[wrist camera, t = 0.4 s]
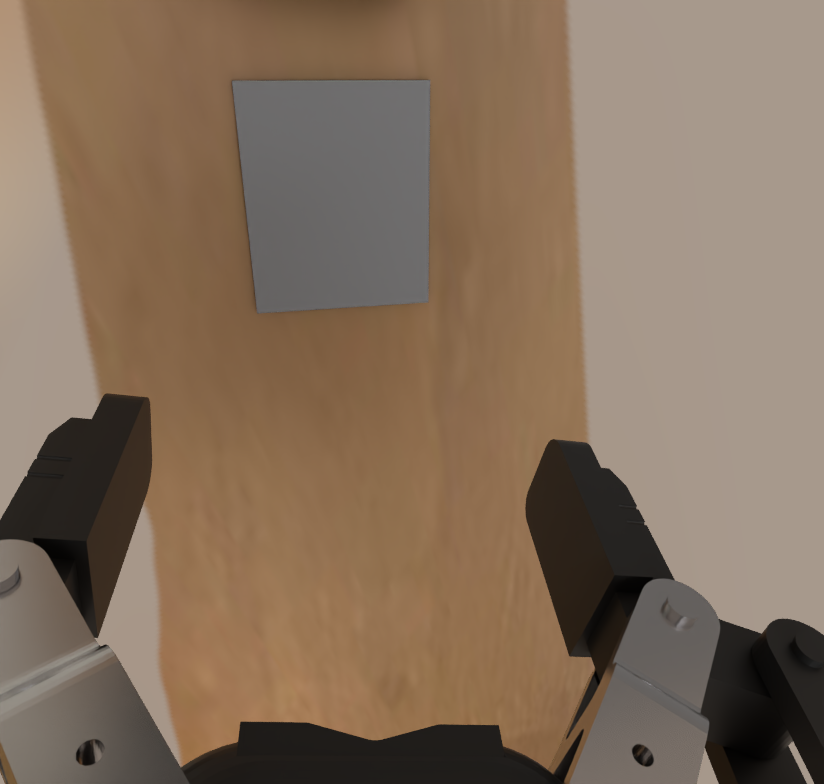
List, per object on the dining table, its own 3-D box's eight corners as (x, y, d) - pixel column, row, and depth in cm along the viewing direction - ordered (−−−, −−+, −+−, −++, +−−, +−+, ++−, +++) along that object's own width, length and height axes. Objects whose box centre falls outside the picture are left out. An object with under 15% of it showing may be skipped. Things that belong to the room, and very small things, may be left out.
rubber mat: (232, 80, 33) (231, 80, 32) (427, 80, 35) (430, 80, 34) (257, 310, 38) (257, 313, 38) (426, 299, 40) (428, 302, 39)
